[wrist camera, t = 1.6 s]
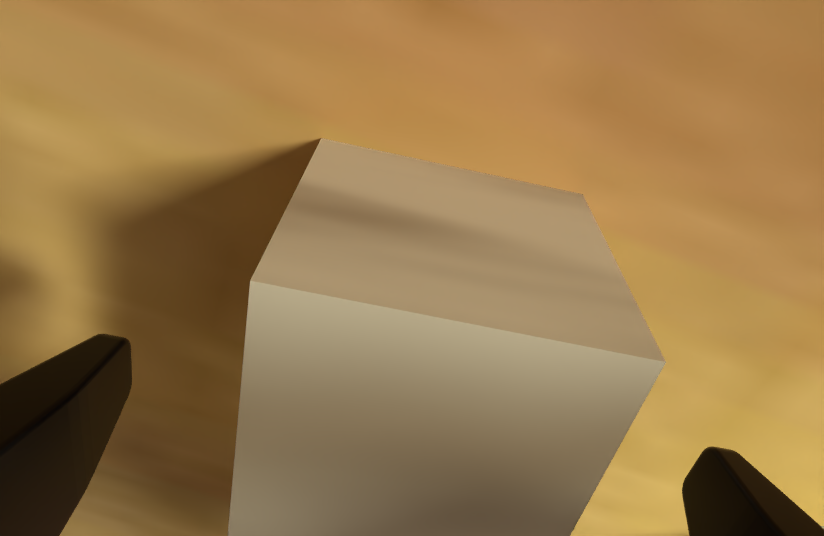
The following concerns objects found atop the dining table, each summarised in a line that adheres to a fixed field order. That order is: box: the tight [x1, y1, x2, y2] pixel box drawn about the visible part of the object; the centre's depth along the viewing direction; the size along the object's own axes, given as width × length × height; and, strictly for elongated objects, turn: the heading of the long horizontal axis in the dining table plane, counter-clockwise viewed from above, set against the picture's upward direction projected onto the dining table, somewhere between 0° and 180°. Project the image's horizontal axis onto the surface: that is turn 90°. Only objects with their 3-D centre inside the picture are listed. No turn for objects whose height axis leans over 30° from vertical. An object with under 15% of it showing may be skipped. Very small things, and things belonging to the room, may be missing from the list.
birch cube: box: [228, 138, 666, 536], centre depth 11 cm, size 5×5×5 cm
